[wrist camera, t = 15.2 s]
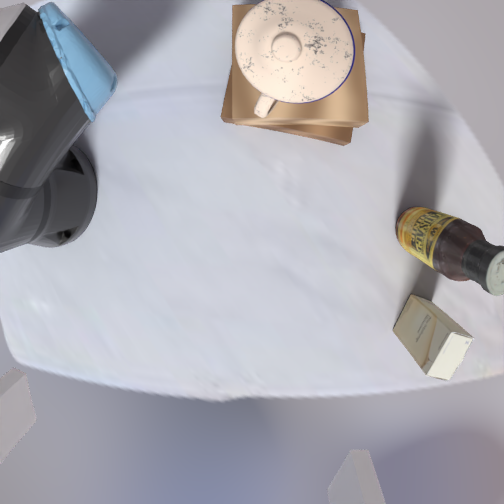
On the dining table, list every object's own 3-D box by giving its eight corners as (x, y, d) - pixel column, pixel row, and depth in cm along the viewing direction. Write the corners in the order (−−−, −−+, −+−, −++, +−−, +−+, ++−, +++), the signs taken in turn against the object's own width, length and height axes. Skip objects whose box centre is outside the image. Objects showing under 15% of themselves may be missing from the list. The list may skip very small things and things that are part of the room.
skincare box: (410, 292, 41) (451, 328, 29) (432, 301, 42) (476, 337, 30) (391, 332, 43) (424, 376, 31) (414, 339, 43) (450, 382, 31)
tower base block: (224, 123, 38) (220, 116, 34) (247, 22, 35) (245, 9, 31) (342, 146, 38) (350, 142, 34) (357, 45, 35) (365, 33, 31)
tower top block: (235, 125, 35) (232, 118, 31) (235, 20, 32) (232, 5, 28) (358, 127, 34) (368, 121, 30) (349, 24, 31) (357, 10, 27)
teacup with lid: (289, -11, 23) (255, -33, 14) (371, 35, 24) (381, 31, 15) (236, 83, 31) (185, 107, 22) (310, 126, 32) (289, 167, 23)
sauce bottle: (408, 196, 39) (505, 212, 19) (439, 222, 39) (538, 254, 20) (383, 237, 40) (466, 283, 20) (415, 262, 40) (503, 317, 21)
